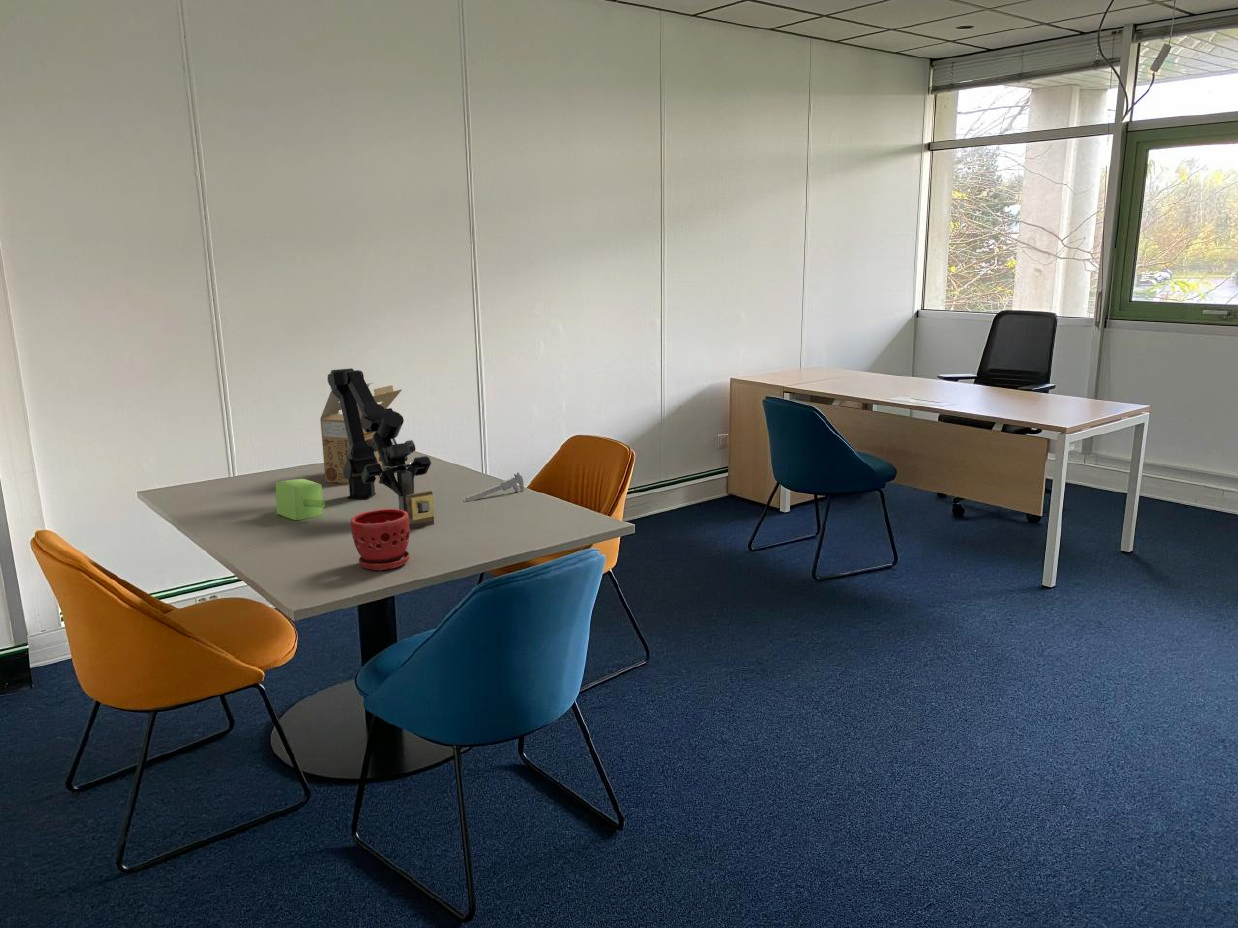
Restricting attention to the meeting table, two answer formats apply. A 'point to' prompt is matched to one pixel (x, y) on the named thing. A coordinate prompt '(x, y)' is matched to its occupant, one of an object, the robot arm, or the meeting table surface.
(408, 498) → the plate
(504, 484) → the caliper
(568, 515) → the meeting table surface
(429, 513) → the frame
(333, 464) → the box
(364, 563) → the plant pot
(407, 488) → the steel shaft
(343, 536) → the meeting table surface
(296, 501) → the gearbox
